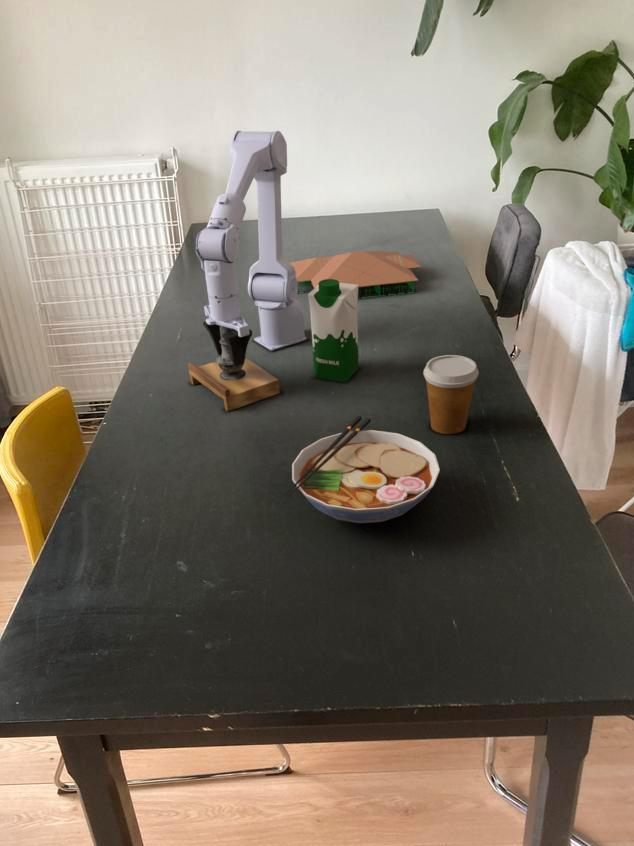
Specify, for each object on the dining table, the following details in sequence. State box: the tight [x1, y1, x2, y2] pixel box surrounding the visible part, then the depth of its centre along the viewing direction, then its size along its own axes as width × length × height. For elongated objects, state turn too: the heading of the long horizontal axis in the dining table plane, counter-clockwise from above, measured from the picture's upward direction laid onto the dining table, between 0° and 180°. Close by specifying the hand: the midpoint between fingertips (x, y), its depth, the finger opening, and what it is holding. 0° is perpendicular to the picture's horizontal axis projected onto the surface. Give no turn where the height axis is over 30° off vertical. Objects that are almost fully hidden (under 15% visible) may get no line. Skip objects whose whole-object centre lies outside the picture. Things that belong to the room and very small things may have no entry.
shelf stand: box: [187, 357, 281, 412], centre depth 163 cm, size 12×16×4 cm
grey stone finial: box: [215, 326, 247, 381], centre depth 159 cm, size 6×6×12 cm
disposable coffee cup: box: [423, 354, 480, 435], centre depth 143 cm, size 10×10×12 cm
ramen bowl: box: [284, 415, 441, 524], centre depth 126 cm, size 25×23×8 cm
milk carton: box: [307, 279, 360, 383], centre depth 162 cm, size 9×9×20 cm
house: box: [289, 250, 422, 299], centre depth 207 cm, size 23×33×8 cm
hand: (231, 359), depth 161 cm, fingers closed on grey stone finial, 6 cm apart
